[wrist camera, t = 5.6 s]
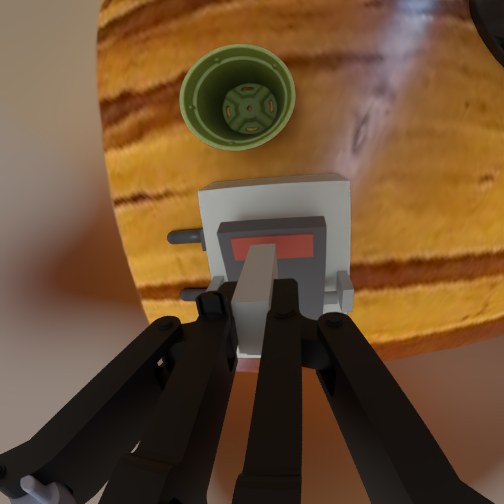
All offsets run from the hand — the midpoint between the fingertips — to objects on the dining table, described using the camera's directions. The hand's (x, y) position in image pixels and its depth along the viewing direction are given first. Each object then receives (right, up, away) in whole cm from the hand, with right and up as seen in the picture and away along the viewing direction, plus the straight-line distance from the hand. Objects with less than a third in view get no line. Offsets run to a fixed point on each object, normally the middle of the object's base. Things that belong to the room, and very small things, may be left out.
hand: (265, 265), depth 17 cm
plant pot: (-1, +16, +10) cm, 20 cm away
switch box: (-1, 0, +17) cm, 17 cm away
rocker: (+2, -4, +8) cm, 9 cm away
